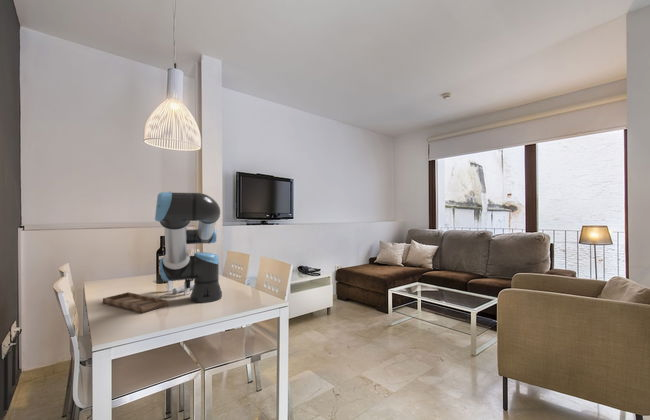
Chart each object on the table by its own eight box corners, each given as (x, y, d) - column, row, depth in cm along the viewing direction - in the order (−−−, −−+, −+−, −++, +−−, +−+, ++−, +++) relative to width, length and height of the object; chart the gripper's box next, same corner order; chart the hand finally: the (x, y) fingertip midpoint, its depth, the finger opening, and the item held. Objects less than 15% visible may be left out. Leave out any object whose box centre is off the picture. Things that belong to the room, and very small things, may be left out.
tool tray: (167, 305, 141) (167, 300, 141) (142, 313, 130) (142, 307, 130) (128, 297, 154) (128, 292, 154) (102, 303, 143) (102, 298, 143)
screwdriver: (154, 302, 152) (152, 293, 152) (194, 288, 174) (193, 280, 174) (160, 301, 150) (158, 292, 150) (200, 287, 172) (199, 279, 172)
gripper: (200, 253, 160) (200, 293, 160) (169, 250, 171) (169, 288, 171) (188, 255, 153) (188, 297, 153) (157, 252, 164) (157, 291, 164)
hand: (178, 292), depth 162 cm, fingers open, 12 cm apart
